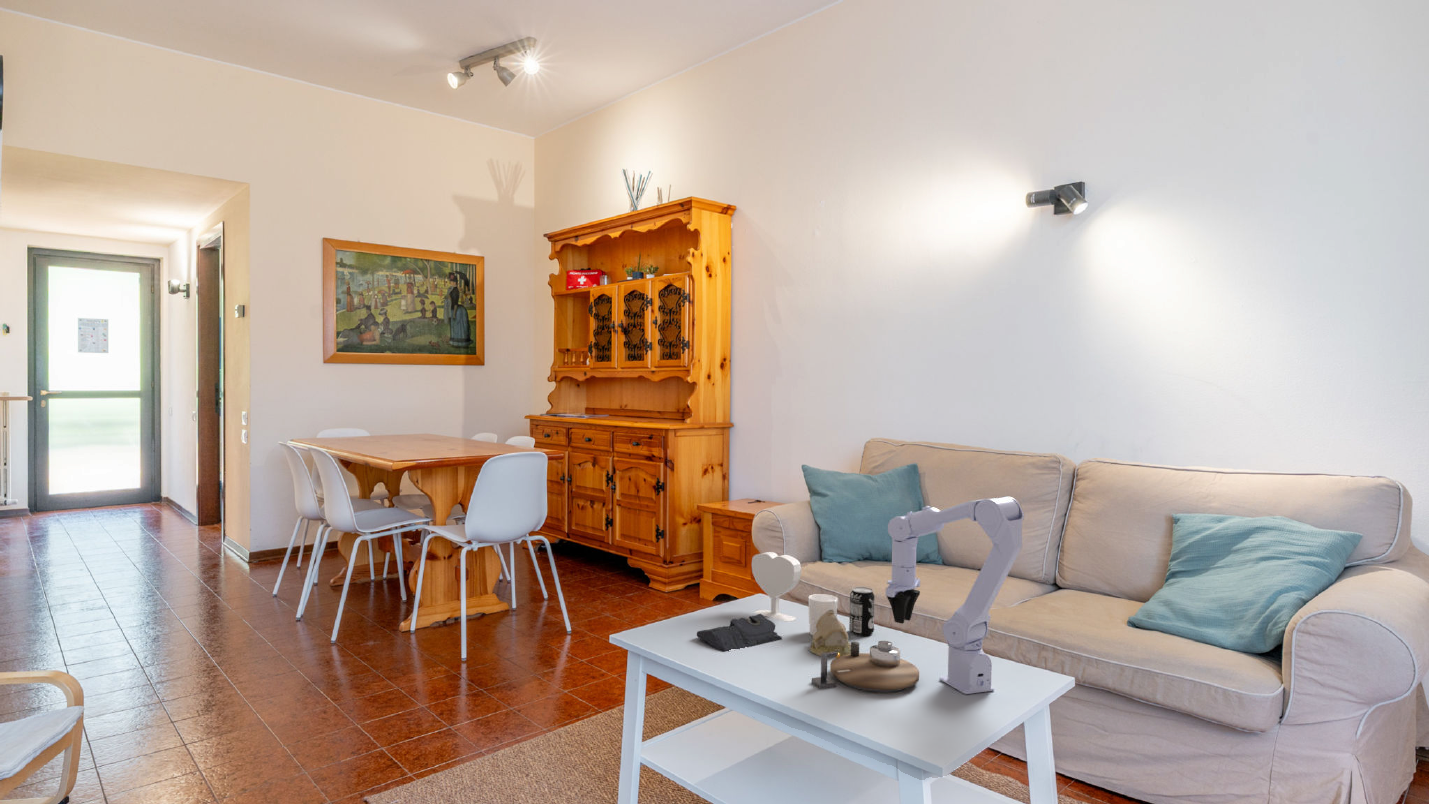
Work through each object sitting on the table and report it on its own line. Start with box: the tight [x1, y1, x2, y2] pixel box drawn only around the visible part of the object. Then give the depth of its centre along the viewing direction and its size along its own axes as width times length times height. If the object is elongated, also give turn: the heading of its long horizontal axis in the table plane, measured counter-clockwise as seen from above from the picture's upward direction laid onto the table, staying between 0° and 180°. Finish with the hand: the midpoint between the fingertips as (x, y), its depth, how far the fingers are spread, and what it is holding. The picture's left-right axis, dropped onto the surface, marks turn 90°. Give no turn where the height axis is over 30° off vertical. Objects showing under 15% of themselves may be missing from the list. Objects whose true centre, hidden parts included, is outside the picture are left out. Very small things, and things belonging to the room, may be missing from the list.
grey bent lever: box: [811, 652, 840, 690], centre depth 175 cm, size 4×6×7 cm, turn 110°
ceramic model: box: [809, 610, 851, 657], centre depth 200 cm, size 14×11×10 cm
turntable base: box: [841, 681, 906, 693], centre depth 179 cm, size 16×16×1 cm
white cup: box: [807, 593, 838, 637], centre depth 211 cm, size 8×8×10 cm
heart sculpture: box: [751, 551, 802, 622], centre depth 228 cm, size 16×5×18 cm, turn 49°
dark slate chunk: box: [696, 614, 783, 652], centre depth 207 cm, size 15×22×5 cm
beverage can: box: [848, 586, 876, 637], centre depth 213 cm, size 7×7×12 cm
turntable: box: [829, 641, 920, 690], centre depth 179 cm, size 20×20×4 cm
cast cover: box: [869, 640, 901, 668], centre depth 183 cm, size 7×7×5 cm
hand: (902, 621), depth 189 cm, fingers open, 3 cm apart
